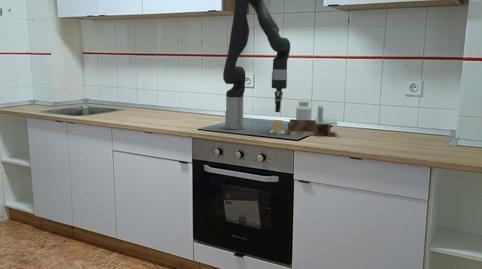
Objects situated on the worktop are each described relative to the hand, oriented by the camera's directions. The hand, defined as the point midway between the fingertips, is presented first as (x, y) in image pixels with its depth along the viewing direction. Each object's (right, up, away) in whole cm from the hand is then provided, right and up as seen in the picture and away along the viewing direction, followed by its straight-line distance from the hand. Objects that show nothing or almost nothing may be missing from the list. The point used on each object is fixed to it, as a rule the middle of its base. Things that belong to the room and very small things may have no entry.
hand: (277, 110), depth 227 cm
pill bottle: (+15, -9, +20) cm, 26 cm away
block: (0, -10, +1) cm, 10 cm away
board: (+11, -12, 0) cm, 16 cm away
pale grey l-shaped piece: (+24, -6, -3) cm, 25 cm away
